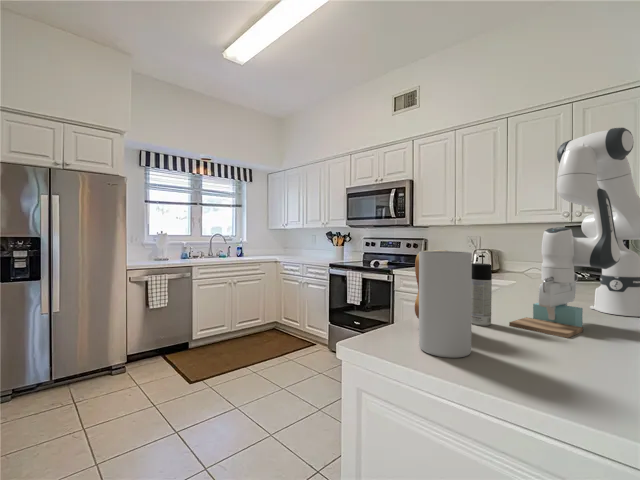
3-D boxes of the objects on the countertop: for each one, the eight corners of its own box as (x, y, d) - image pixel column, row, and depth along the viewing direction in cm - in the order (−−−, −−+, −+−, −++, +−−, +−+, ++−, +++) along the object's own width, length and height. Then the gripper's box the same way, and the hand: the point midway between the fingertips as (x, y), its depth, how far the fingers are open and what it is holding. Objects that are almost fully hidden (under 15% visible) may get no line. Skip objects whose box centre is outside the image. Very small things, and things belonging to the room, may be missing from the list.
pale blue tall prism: (540, 319, 117) (540, 302, 117) (582, 326, 107) (582, 307, 107) (533, 321, 113) (533, 303, 113) (575, 329, 104) (575, 310, 104)
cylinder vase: (408, 345, 88) (409, 251, 88) (446, 340, 93) (446, 250, 92) (442, 361, 76) (442, 253, 76) (482, 355, 81) (483, 252, 81)
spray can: (486, 321, 114) (486, 263, 114) (495, 326, 107) (495, 264, 107) (466, 320, 115) (466, 263, 114) (473, 326, 108) (473, 264, 108)
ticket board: (526, 320, 115) (526, 316, 115) (582, 331, 102) (582, 326, 102) (509, 325, 108) (509, 321, 108) (567, 338, 95) (567, 333, 95)
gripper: (555, 279, 102) (555, 324, 102) (579, 275, 113) (579, 315, 113) (532, 277, 107) (532, 320, 107) (558, 273, 118) (558, 312, 119)
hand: (557, 317), depth 110 cm, fingers closed on pale blue tall prism, 6 cm apart
